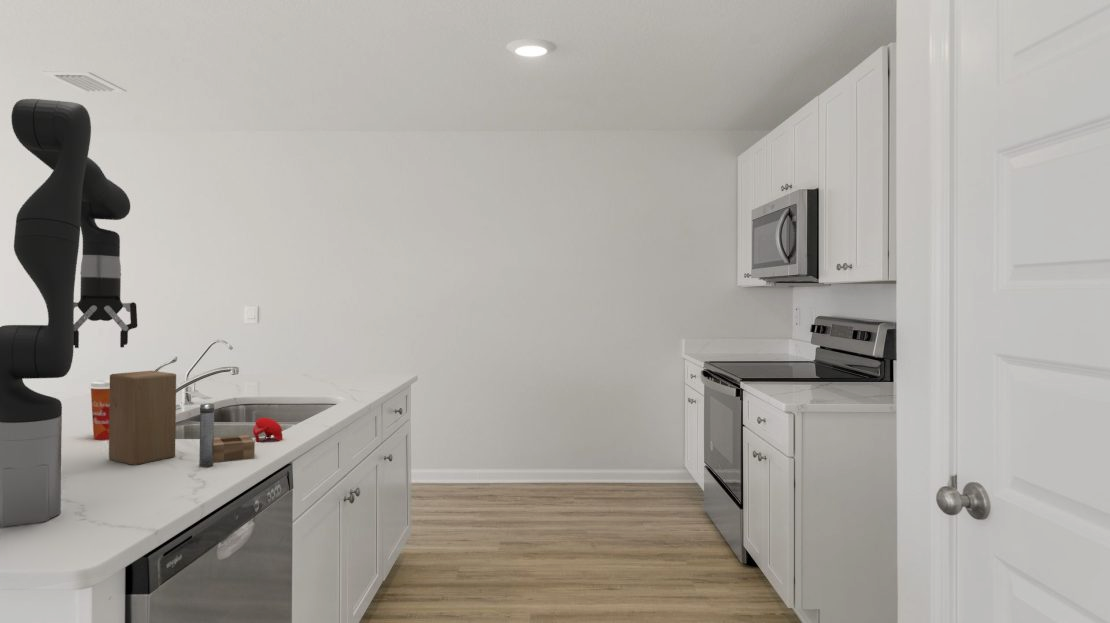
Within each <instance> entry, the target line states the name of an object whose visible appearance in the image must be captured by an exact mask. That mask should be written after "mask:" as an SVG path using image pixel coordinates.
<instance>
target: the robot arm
mask: <svg viewBox="0 0 1110 623" xmlns="http://www.w3.org/2000/svg"><path fill="white" fill-rule="evenodd" d="M10 117H11V126H12V130H13V133H14V135H15V137H16V139H17V141H18V142H19V143H20V145H21V146H23V148H25V149H26V150H27V151H29V152H30V153H31V154H32V155H34V156H35V157H36V158H38V159H39V161H41V162H42V163H43V164H44V165H46V166H47V167H48V168H50V169H51V170H53V171H52V172H51V174H50V176H48V177H47V179H46V180H45V181H44V182H42V185H40V186H39V187H38V188H37V189H36V190H35V191H34V192H33V193H32V194H31V195H30V196H29V197H28V198H27V199H26V201H25V202H24V203H23V204H22V205H21V207H20V209H19V210H18V212H17V214H16V219H15V228H14V236H13V237H14V240H13V251H14V253H15V254H14V255H15V256H16V258H17V260H18V262H19V264H20V265H21V266H22V268H23V270H24V271H25V273H26V274H27V275H28V276H29V278H30V279H31V280H32V281H33V283H34V285H35V286H36V287H37V289H38V291H39V292H40V295H41V296H42V298H43V300H44V303H45V306H46V310H47V315H48V316H47V318H48V320H47V321H48V322H47V324H41V325H40V324H5V325H1V326H0V526H1V528H2V527H3V528H4V527H10V526H19V525H25V524H33V523H34V524H35V523H42V522H47V521H49V520H50V519H51V518H55V517H57V516H58V515H60V514H61V511H62V508H61V507H62V430H63V429H62V428H63V422H62V421H63V420H62V418H63V416H62V415H63V407H62V406H63V404H62V402H61V400H60V399H59V398H56V397H54V396H49V395H45V394H44V393H40V392H37V391H35V390H33V389H31V388H29V387H28V386H27V385H26V384H25V383H24V380H23V379H26V380H27V379H28V380H29V379H58V378H59V379H60V378H63V377H66V376H67V375H68V373H69V372H70V370H71V367H72V364H73V359H74V358H73V357H74V349H79V346H80V344H79V342H80V338H79V336H80V333H79V332H80V331H79V329H80V328H81V327H82V325H84V323H86V321H87V320H89V321H93V322H97V321H103V322H109V321H111V320H113V321H114V322H115V323H116V324H117V325H118V326H119V327H120V328H121V330H120V331H119V332H120V333H119V334H120V337H119V338H120V339H119V340H120V342H119V344H120V345H119V346H120V348H125V346H126V345H128V342H129V340H128V339H129V336H128V335H129V331H130V330H133V329H136V328H138V312H137V311H138V310H137V309H138V308H137V304H136V302H133V301H131V302H125V303H124V302H122V300H121V290H122V289H121V288H122V287H121V282H122V281H121V279H122V278H121V277H122V271H121V270H122V269H121V268H122V267H121V266H122V265H121V260H120V259H121V257H120V255H121V252H120V251H121V249H120V248H121V238H120V234H119V233H118V232H116V231H115V230H110V229H105V228H101V227H99V226H98V225H97V223H96V220H106V221H108V220H109V221H110V220H111V221H118V220H122V219H125V218H126V217H127V216H128V215H129V214H130V211H131V201H130V199H129V196H128V195H127V193H126V191H124V190H123V189H122V188H121V187H120V186H118V185H117V184H116V183H114V182H113V181H112V180H110V179H109V178H107V177H106V175H105V173H104V172H103V170H102V169H101V167H100V166H99V165H98V164H97V163H96V162H95V161H94V160H93V159H91V158H90V157H89V153H90V152H89V151H90V144H91V136H92V123H91V117H90V114H89V111H88V110H87V108H86V107H85V106H84V105H83V104H81V103H79V102H78V103H77V102H73V101H61V100H51V99H40V98H23V99H20V100H18V101H16V103H14V105H13V107H12V110H11V116H10ZM80 236H82V257H81V262H80V273H79V274H80V291H79V292H80V296H79V297H80V299H79V301H78V302H77V301H76V302H74V299H75V284H76V283H75V282H76V274H77V266H78V257H79V256H78V255H79V249H80V248H79V247H80V239H81V238H80ZM77 307H78V309H79V310H80V312H81V313H82V315H81V316H80V317H79V318H78V319H77V321H74V319H75V318H74V315H75V314H74V313H75V311H74V309H75V308H77ZM123 308H124V309H125V311H126V312H129V316H130V317H129V319H130V323H128V324H126V323H125V322H124V320H122V319H121V317H120V316H119V315H118V314H119V312H120V311H121V310H122V309H123ZM74 322H75V323H74Z"/></svg>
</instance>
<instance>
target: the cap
mask: <svg viewBox="0 0 1110 623" xmlns="http://www.w3.org/2000/svg"><path fill="white" fill-rule="evenodd" d="M252 431H253V435H254V438H255V441H256V442H257V441H259V442H260V440H261V438H260V437H259V435H261V434H263V433H265V437H264V439H266V437H270V438H272V437H273V438H274V439H276V441H278V440H281V441H282V440H283V430H282V426H281V425H280V424H279V423H278V422H277V421H276V420H275V419H272V418H269V417H260V418H258V419H257V420H255V424H254V426H253V430H252Z"/></svg>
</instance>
